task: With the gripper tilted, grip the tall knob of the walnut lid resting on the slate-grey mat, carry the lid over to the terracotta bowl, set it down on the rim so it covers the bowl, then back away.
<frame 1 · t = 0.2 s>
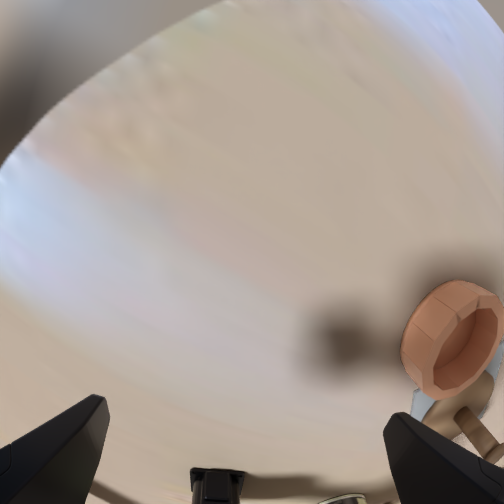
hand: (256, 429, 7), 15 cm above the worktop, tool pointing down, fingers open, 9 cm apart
lid: (456, 408, 27), resting on mat
mat: (455, 406, 28), on the worktop
bowl: (443, 330, 24), on the worktop
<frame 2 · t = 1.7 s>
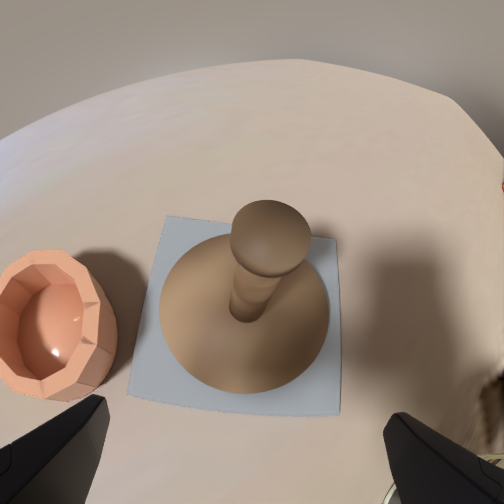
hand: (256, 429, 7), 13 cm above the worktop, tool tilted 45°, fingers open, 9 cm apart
lid: (244, 311, 23), resting on mat
mat: (244, 312, 23), on the worktop
coffee can: (422, 500, 15), on the worktop
bowl: (60, 335, 19), on the worktop
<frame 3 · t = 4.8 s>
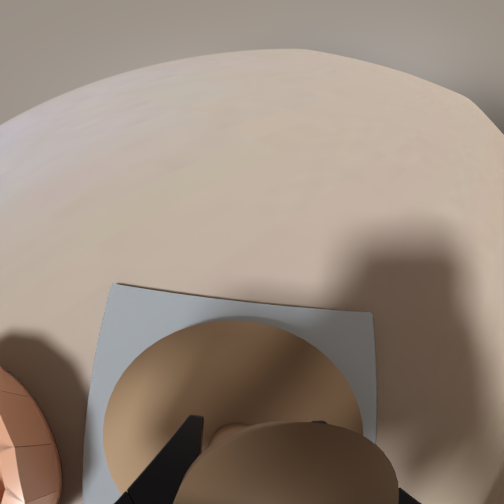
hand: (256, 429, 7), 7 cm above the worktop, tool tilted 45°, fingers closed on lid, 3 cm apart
lid: (235, 444, 12), resting on mat, touching gripper
mat: (234, 443, 13), on the worktop
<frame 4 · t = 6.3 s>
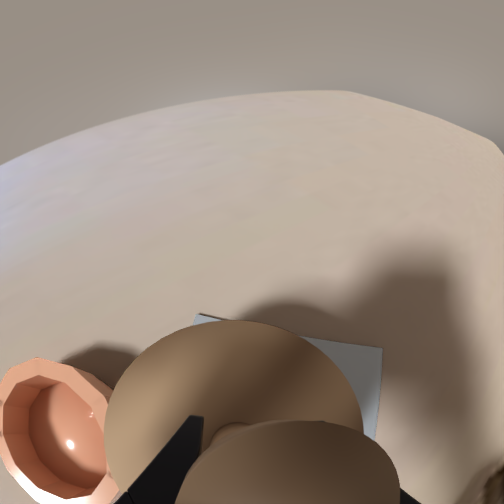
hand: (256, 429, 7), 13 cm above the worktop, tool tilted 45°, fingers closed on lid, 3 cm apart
lid: (235, 444, 12), point 7 cm above the worktop, touching gripper
mat: (279, 433, 18), on the worktop
bowl: (75, 436, 16), on the worktop
when the fingers open (12 cm above the worktop, at t = 7.7 s): lid drops 1 cm, resting on bowl.
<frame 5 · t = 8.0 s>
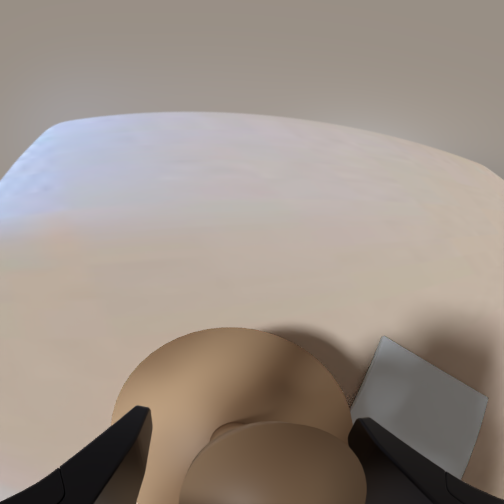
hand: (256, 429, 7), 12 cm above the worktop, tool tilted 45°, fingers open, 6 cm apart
lid: (233, 442, 13), point 4 cm above the worktop, touching bowl
mat: (413, 452, 17), on the worktop
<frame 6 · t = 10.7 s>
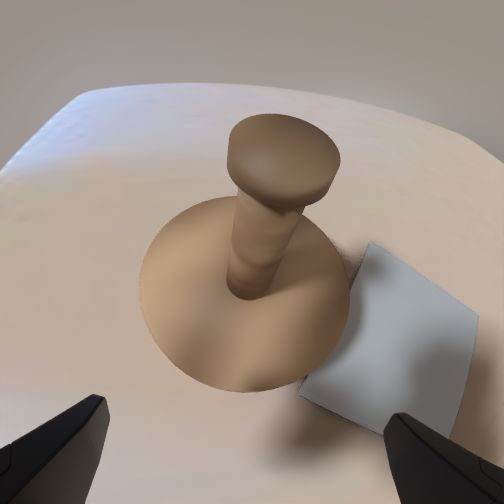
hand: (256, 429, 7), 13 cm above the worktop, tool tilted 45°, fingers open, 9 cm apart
lid: (246, 288, 18), point 4 cm above the worktop, touching bowl
mat: (411, 350, 22), on the worktop
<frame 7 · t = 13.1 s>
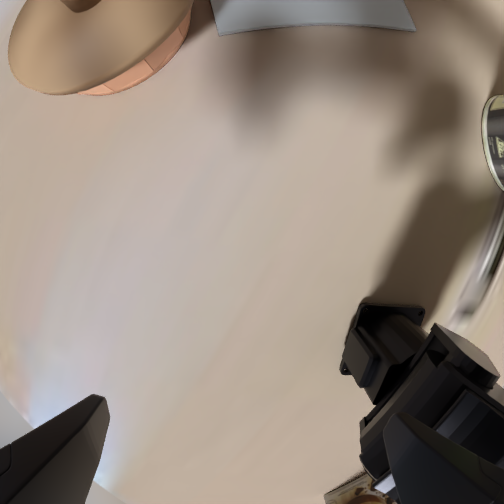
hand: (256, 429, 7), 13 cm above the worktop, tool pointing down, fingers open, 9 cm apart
lid: (95, 4, 10), point 4 cm above the worktop, touching bowl
coffee box: (358, 485, 29), on the worktop
bowl: (118, 31, 15), on the worktop
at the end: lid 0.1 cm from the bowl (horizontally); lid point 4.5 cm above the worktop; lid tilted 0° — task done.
